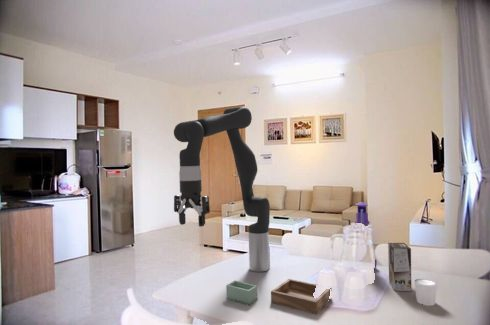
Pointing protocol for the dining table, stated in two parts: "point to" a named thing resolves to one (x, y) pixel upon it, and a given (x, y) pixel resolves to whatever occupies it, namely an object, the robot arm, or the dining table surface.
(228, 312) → the dining table surface
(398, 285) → the coffee box
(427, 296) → the white cup
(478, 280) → the dining table surface
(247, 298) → the sage crate
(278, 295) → the walnut crate
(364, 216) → the lantern
